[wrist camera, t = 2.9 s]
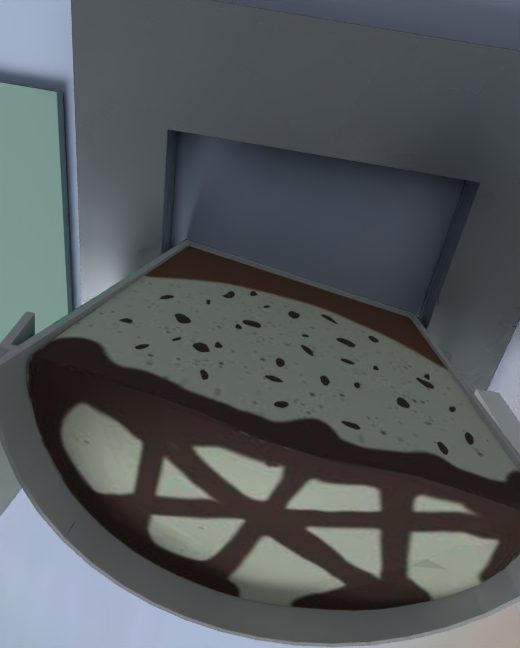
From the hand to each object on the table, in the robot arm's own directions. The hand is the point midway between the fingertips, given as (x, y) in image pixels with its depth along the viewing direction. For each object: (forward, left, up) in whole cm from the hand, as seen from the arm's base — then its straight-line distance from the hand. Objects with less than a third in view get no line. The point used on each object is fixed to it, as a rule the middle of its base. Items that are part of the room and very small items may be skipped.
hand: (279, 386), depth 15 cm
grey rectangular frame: (0, 0, -3) cm, 3 cm away
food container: (0, 0, -4) cm, 4 cm away
